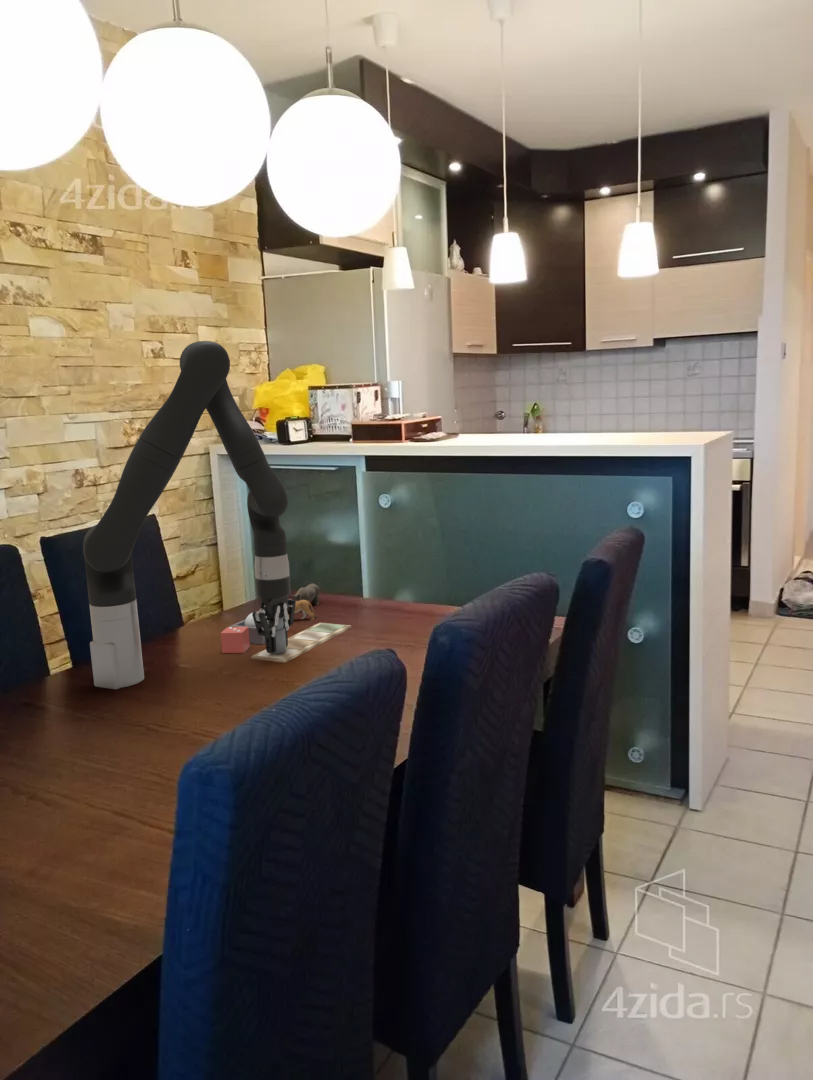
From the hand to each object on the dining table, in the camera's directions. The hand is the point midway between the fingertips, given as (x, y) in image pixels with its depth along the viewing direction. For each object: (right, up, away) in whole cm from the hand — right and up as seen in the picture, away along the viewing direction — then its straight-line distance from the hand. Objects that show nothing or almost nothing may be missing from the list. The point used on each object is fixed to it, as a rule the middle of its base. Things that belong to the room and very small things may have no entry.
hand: (277, 649), depth 194 cm
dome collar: (-7, +1, +15) cm, 17 cm away
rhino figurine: (+1, +6, +43) cm, 43 cm away
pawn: (0, 0, 0) cm, 0 cm away
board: (+5, 0, +10) cm, 11 cm away
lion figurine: (0, +3, +29) cm, 29 cm away
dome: (-7, +1, +15) cm, 17 cm away
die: (-10, -1, +6) cm, 12 cm away
